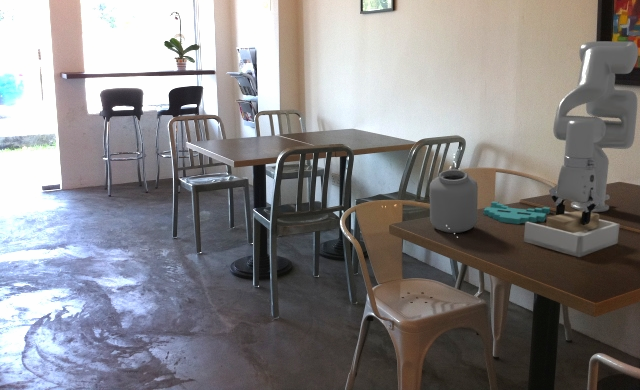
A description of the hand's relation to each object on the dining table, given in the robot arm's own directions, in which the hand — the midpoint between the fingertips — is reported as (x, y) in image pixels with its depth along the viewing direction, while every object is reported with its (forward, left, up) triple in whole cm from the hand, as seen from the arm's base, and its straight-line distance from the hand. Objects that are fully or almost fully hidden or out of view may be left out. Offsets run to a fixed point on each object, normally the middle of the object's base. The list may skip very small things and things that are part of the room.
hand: (572, 220), depth 187 cm
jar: (+18, -31, -7) cm, 36 cm away
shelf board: (0, 0, -2) cm, 2 cm away
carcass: (0, 0, -7) cm, 7 cm away
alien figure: (-12, -29, -7) cm, 32 cm away
